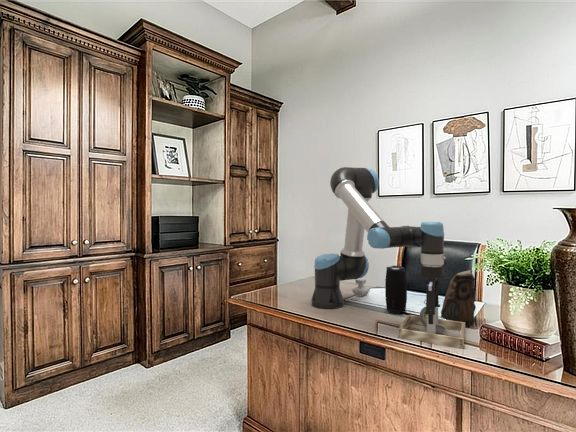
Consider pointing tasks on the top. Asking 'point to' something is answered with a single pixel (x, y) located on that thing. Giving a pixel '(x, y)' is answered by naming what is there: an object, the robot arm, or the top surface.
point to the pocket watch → (438, 328)
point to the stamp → (360, 288)
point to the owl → (460, 299)
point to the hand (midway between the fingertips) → (432, 328)
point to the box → (430, 336)
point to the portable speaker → (396, 289)
